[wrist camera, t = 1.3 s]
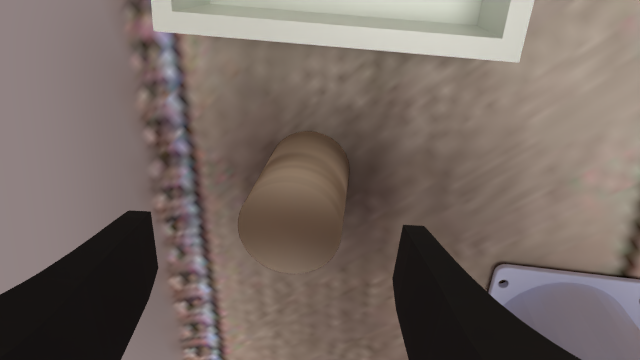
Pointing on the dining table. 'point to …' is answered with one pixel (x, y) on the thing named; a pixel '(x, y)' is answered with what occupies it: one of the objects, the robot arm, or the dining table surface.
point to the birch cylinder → (297, 205)
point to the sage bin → (360, 24)
